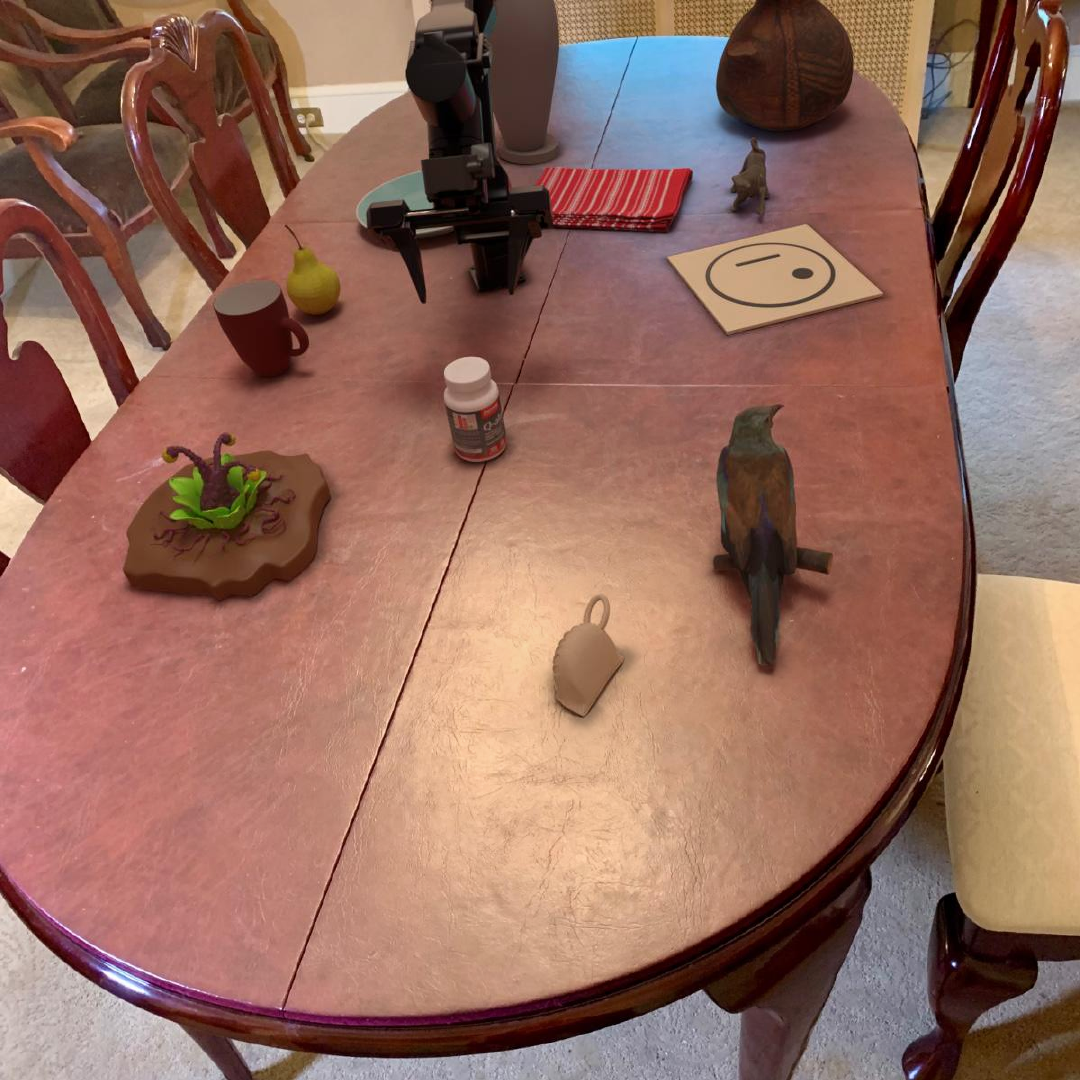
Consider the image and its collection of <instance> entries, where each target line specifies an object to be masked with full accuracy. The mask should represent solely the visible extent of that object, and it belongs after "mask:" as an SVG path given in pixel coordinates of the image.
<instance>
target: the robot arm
mask: <svg viewBox="0 0 1080 1080" xmlns="http://www.w3.org/2000/svg"><path fill="white" fill-rule="evenodd" d="M429 1H430V3H431V5H430V11H428V12H427V13H426V14H425V15H423V16H422V17H420V18H419V19H418V20H417V23H416V28H415V32H414V40H411V41H410V42H409V49H408V54H407V55H408V56H407V61H406V68H405V71H404V73H405V80H406V84H407V87H408V89H409V91H410V93H411V95H412V97H413V99H414V101H415V104H416V106H417V108H418V110H419V112H420V114H421V117H422V118H423V120H424V121H425V123H426V127H427V143H428V158H425V159H421V160H420V165H421V170H422V174H423V182H424V189H425V195H427V200H428V202H429V203H433V208H430V209H421V210H410V209H409V207H408V205H407V204H406V202H405V201H404V199H402V200H392V201H383V202H373V203H371V204H370V206H369V208H368V209H367V212H366V218H367V229H366V230H367V231H368V232H369V233H370V234H371V235H372V237H373V238H374V239H375V240H376V242H377V243H378V244H379V245H380V246H385V247H386V246H387V247H388V248H389V249H390V250H391V251H392V252H393V253H399V254H400V256H401V258H402V260H403V262H404V263H405V266H406V268H407V270H408V273H409V276H410V279H411V281H412V284H413V286H414V289H415V291H416V293H417V296H418V299H419V301H420V303H421V304H422V305H424V304H425V305H426V304H427V288H426V280H425V274H424V267H423V260H422V254H421V246H420V244H419V243H418V241H417V240H416V238H414V237H415V236H416V230H418V229H428V228H438V227H448V226H453V228H454V231H453V232H454V235H455V238H456V239H455V240H456V242H457V243H456V244H457V245H458V246H463V245H465V244H466V245H467V244H469V245H470V250H471V256H472V257H471V258H472V262H473V266H471V267H469V275H470V276H471V278H472V281H473V282H474V285H475V287H476V289H477V291H478V292H479V293H484V292H489V291H493V290H497V289H500V288H506V287H508V294H509V296H510V297H511V296H514V295H515V292H516V289H517V285H518V284H522V283H525V282H526V276H525V274H524V273H523V271H522V268H523V264H524V261H525V260H526V259H525V258H526V256H527V253H528V252H529V249H530V247H531V244H533V243H532V242H533V241H534V240H535V239H540V238H542V236H543V231H546V230H551V229H553V228H555V226H554V223H553V210H552V202H551V198H550V193H549V190H548V189H547V188H546V187H545V186H544V185H536V186H535V185H528V186H517V187H512V182H511V180H510V177H509V174H508V172H506V170H505V169H504V167H503V165H502V164H501V163H500V161H499V160H498V154H497V153H498V152H497V142H496V131H495V130H496V129H495V115H494V112H493V104H492V93H491V81H490V69H489V68H491V63H492V57H493V54H492V46H491V44H490V43H489V42H488V39H489V37H490V35H491V33H492V31H493V29H494V27H495V25H496V23H497V20H498V16H497V2H496V1H497V0H429Z"/></svg>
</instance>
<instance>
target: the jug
mask: <svg viewBox="0 0 1080 1080" xmlns="http://www.w3.org/2000/svg"><path fill="white" fill-rule="evenodd" d="M854 61H855V60H854V50H853V45H852V43H851V39H850V36H849V34H848V32H847V30H846V28H845V26H844V25H843V24H842V22H841V21H840V20H839V18H838V17H837V16H836V15H835V14H834V13H833V12H832V11H831V10H830V9H829V8H828V7H826V5H824V4H823V3H822V2H821V1H820V0H755V2H754V4H753V5H752V7H751V8H749V10H748V11H746V12H745V13H744V14H743V15H742V17H741V18H740V19H739V20H738V22H737V23H736V25H735V26H734V28H733V30H732V32H731V33H730V35H729V37H728V40H727V42H726V43H725V45H724V48H723V51H722V53H721V56H720V58H719V63H718V68H717V72H716V78H715V91H716V97H717V99H718V103H719V105H720V107H721V108H722V110H723V111H724V113H726V114H728V115H730V116H731V117H733V118H735V119H737V120H739V121H741V122H743V123H744V124H746V125H749V126H752V127H756V128H759V129H762V130H766V131H773V132H785V131H794V130H800V129H803V128H806V127H808V126H810V125H811V124H813V123H816V122H818V121H820V120H822V119H824V118H826V117H828V116H829V115H830V114H832V113H833V112H834V111H836V109H838V108H839V107H840V106H841V105H842V104H843V102H845V100H846V98H847V96H848V94H849V92H850V89H851V87H852V82H853V77H854V76H853V75H854V66H855V65H854V64H855V63H854Z"/></svg>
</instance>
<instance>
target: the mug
mask: <svg viewBox="0 0 1080 1080" xmlns="http://www.w3.org/2000/svg"><path fill="white" fill-rule="evenodd" d="M212 306H213V310H214V312H215V316H216V318H217V320H218V323H219V325H220V327H221V329H222V331H223V333H224V334H225V336H226V337H227V339H228V341H229V342H230V344H231V346H232V347H233V349H234V350H235V352H236V354H237V355H238V357H239V358H240V360H241V361H242V362H243V363H244V364H245V365H246V366H247V367H248V368H249V369H251V370H252V371H253V372H254V373H255V374H257V375H259V376H260V377H263V378H273V377H278V376H281V375H282V374H284V373H285V372H286V371H288V369H289V368H290V364H291V360H292V358H295V357H296V358H297V357H300V356H302V355H304V354H305V353H306V352H307V351H308V350H309V347H310V339H309V336H308V333H307V332H306V330H305V328H304V327H303V326H302V325H301V324H300V323H299V322H298V321H297V320H295V319H293V318H291V317H290V313H289V308H288V304H287V302H286V299H285V295H284V293H283V290H282V287H281V286H280V285H279V284H278V283H277V282H275V281H272V280H270V279H269V280H268V279H253V280H246V281H243V282H240V283H236V284H233V285H232V286H230V287H227V288H226V289H224V290H222V291H221V292H220V293H219V294H218V295H217V296H216V297H215V298H214V301H213V305H212ZM293 335H294V336H295V337H296V339H297V342H298V345H299V348H294V342H293Z"/></svg>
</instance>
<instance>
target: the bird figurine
mask: <svg viewBox="0 0 1080 1080" xmlns="http://www.w3.org/2000/svg"><path fill="white" fill-rule="evenodd" d="M782 408H785V405H784V404H782V403H777V404H773V405H769V406H766V405H756V406H751V407H748V408H746V409H743V410H741V411H740V412H739V413H737V414H736V415H735V417H734V420H733V424H732V428H731V429H732V430H731V432H730V433H731V435H730V437H729V440H728V444H727V445H726V446H724V447H723V448H722V449H721V450H720V454H719V457H718V461H717V470H716V489H717V496H718V504H719V505H718V506H719V509H720V543H721V547H722V548H723V550H724V551H725V552H726V553H723V554H716V555H714V556H713V558H712V566H713V569H714V570H716V571H726V570H737V571H738V575H739V577H740V579H741V582H742V584H743V586H744V588H745V591H746V593H747V595H748V598H749V599H750V610H749V611H750V614H751V615H750V626H749V627H750V630H749V631H750V637H751V639H752V642H753V644H755V645H754V646H755V653H756V656H757V660H758V664H759V665H761V666H763V665H764V666H774V665H775V664H776V662H775V661H776V658H777V653H778V645H779V638H780V622H781V615H780V600H781V598H782V597H781V596H782V591H783V587H784V583H785V577H786V576H789V577H790V576H792V575H794V574H795V573H796V570H797V569H798V570H805V571H809V572H815V573H818V574H822V575H823V574H824V575H830V574H831V570H832V567H833V562H834V554H833V553H832V552H830V551H829V552H828V551H820V550H816V549H813V548H812V549H811V548H806V547H797V544H798V537H797V523H796V520H797V519H796V516H797V504H796V491H795V483H794V482H795V480H794V479H795V478H794V469H793V465H792V462H791V459H790V456H789V453H788V451H787V450H786V449H785V447H784V446H783V445H781V444H776V443H775V441H774V439H773V436H772V428H773V426H774V421H773V419H774V417H775V416H776V415H777V413H778V412H779V410H781V409H782ZM785 575H786V576H785Z"/></svg>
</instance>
